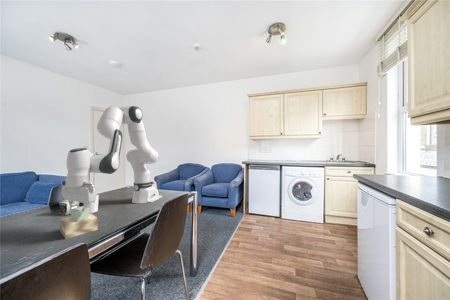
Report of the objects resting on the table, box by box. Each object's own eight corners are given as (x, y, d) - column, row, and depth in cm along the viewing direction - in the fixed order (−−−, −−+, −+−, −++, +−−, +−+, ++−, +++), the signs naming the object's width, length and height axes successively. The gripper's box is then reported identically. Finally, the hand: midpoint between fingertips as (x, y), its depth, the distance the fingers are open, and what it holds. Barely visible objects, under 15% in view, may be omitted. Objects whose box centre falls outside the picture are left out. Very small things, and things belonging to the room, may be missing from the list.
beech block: (90, 223, 97) (90, 212, 97) (97, 230, 89) (97, 218, 89) (60, 231, 88) (60, 219, 87) (65, 239, 80) (65, 226, 80)
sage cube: (82, 216, 92) (82, 206, 92) (88, 217, 90) (88, 207, 90) (70, 219, 87) (70, 209, 87) (77, 221, 85) (77, 210, 85)
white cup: (90, 214, 110) (90, 197, 109) (79, 213, 111) (79, 197, 111) (101, 210, 117) (101, 194, 117) (91, 209, 119) (91, 193, 119)
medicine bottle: (58, 213, 111) (58, 194, 110) (71, 210, 117) (71, 191, 117) (66, 215, 108) (66, 195, 108) (79, 211, 115) (79, 192, 115)
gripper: (99, 182, 87) (100, 211, 87) (73, 179, 95) (73, 205, 95) (85, 184, 81) (85, 215, 81) (58, 181, 89) (59, 209, 89)
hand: (79, 210), depth 88 cm, fingers open, 8 cm apart
